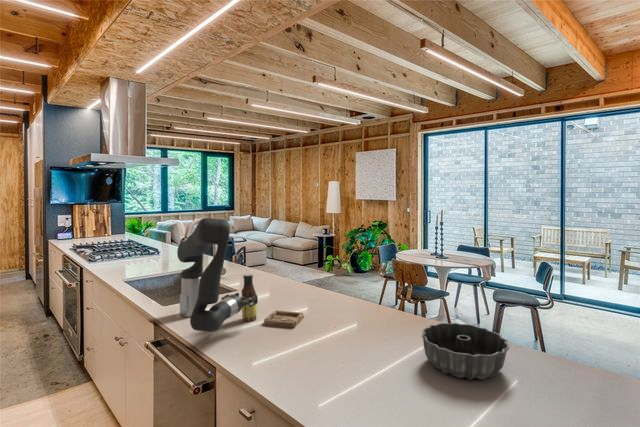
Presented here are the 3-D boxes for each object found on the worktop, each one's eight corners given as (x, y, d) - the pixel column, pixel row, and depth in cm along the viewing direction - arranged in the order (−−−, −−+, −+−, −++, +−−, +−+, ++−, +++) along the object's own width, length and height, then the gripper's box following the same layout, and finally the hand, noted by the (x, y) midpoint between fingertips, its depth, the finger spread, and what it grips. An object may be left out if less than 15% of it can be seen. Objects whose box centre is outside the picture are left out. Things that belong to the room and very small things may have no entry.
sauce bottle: (259, 318, 165) (259, 274, 164) (251, 322, 159) (251, 277, 158) (247, 316, 168) (247, 272, 167) (238, 320, 162) (238, 275, 161)
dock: (294, 328, 153) (294, 323, 153) (263, 324, 157) (263, 320, 156) (304, 317, 167) (304, 312, 167) (275, 314, 170) (275, 310, 170)
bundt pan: (503, 397, 102) (504, 362, 102) (410, 372, 116) (411, 341, 116) (511, 361, 125) (513, 332, 124) (433, 344, 139) (433, 317, 138)
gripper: (245, 299, 143) (262, 288, 159) (212, 296, 147) (232, 286, 163) (245, 318, 144) (262, 305, 159) (212, 314, 147) (232, 302, 163)
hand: (247, 295), depth 161 cm, fingers open, 8 cm apart
